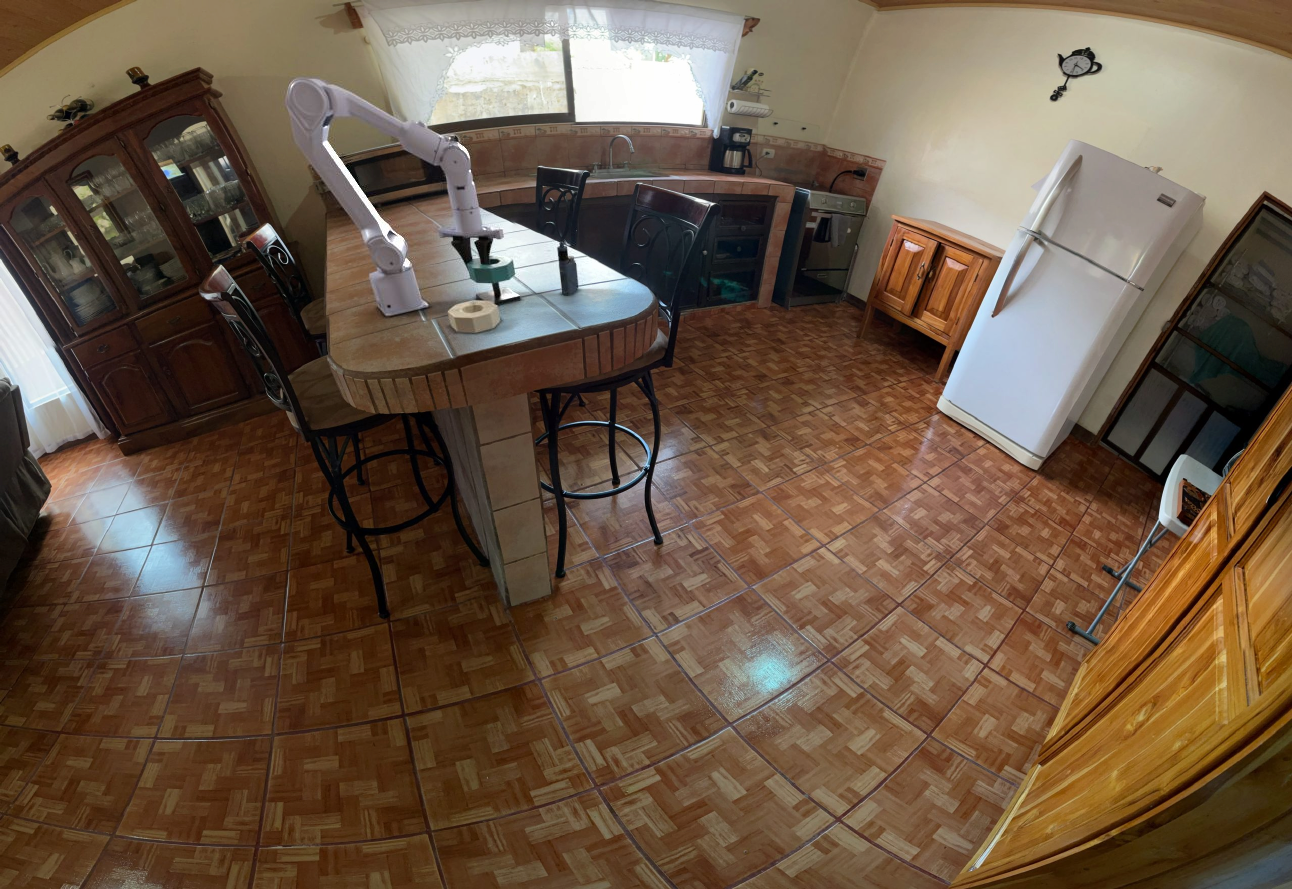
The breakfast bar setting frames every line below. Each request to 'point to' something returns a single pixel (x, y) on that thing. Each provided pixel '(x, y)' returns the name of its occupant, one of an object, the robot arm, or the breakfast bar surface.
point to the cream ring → (474, 316)
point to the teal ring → (491, 270)
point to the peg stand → (498, 295)
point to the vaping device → (567, 271)
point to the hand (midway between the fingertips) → (478, 270)
